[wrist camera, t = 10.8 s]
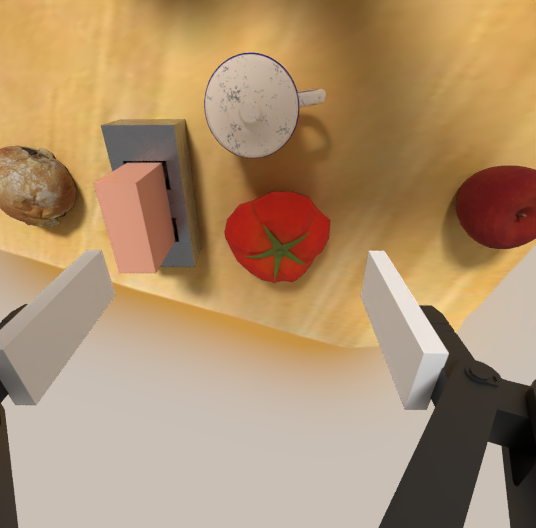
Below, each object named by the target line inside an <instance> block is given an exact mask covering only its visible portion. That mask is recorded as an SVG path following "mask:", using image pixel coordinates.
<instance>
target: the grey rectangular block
mask: <svg viewBox="0 0 536 528" xmlns="http://www.w3.org/2000/svg"><path fill="white" fill-rule="evenodd" d="M101 128H102V132H103V136H104V140H105V144H106V148H107V152H108V156H109V160H110V163H111V167H112V171H114V170H116V169H118V168H119V167H121V166H123V165H124V164H126V163H141V161H166V164H167V170H168V176H169V178H166V179H165V184H166V190H167V196H168V201H169V207H170V213H171V218H176V224H177V228H176V229H175V231H174V236H175V242H174V244H173V245H172V247H171V249H170V250H169V252H168V254H167V255H166V257H165V259H164V260H163V262H162V264H161V265H160V267H195V264H196V262H197V259H198V257H199V255H200V252H201V250H202V249H201V241H200V233H199V226H198V218H197V210H196V202H195V194H194V186H193V179H192V171H191V163H190V155H189V147H188V139H187V132H186V124H185V119H172V120H117V121H114V122H110V123H107V124H103V125H101Z"/></svg>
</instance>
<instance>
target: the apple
mask: <svg viewBox="0 0 536 528" xmlns="http://www.w3.org/2000/svg"><path fill="white" fill-rule="evenodd" d="M456 212H457V216H458V219H459V221H460V224H461V226H462V227H463V228H464V230H465V231H466V232H467V234H468V235H469V236H470V237H472V238H473V239H474V240H475V241H477V242H478V243H480V244H482V245H484V246H487V247H489V248H495V249H510V248H515V247H519V246H521V245H524V244H527V243H529V242H531V241H533V240H534V239H536V170H535V169H531V168H527V167H521V166H497V167H491V168H488V169H485V170H482V171H479V172H477V173H476V174H474V175H472V176H471V177H470V178H468V179H467V180H466V181H465V182H464V184H463V185H462V186H461V188H460V190H459V192H458V195H457V199H456Z"/></svg>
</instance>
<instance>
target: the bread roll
mask: <svg viewBox="0 0 536 528" xmlns="http://www.w3.org/2000/svg"><path fill="white" fill-rule="evenodd" d="M75 197H76V188H75V186H74V183H73V180H72V178H71V177H70V175H69V173H68V171H67V170H66V168H65V167H64V166H63V164H61V163H60V162H59V161H58V160H56V159H54V158H53V154H52V153H51V152H49V151H48V150H46V149H43V148H39V150H37V149H33V148H28V147H21V146H12V147H4V148H2V149H0V208H1V209H2V210H3V211H4V212H5V213H6V214H7V215H9V216H11V217H13V218H15V219H17V220H20V221H23V222H25V223H26V224H27V225H34V226H40V227H42V226H43V225H44V224H46V225H47V226H54V225H58V224H59V223H60V222H61V221H59V220H57V218H56V217H58V216H65V214H66V212H68V211H69V210H70V209H71V208H72V206H73V204H74V203H75Z"/></svg>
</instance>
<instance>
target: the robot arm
mask: <svg viewBox="0 0 536 528" xmlns="http://www.w3.org/2000/svg"><path fill="white" fill-rule="evenodd" d="M114 297H115V292H114V288H113V285H112V282H111V279H110V275H109V272H108V269H107V266H106V262H105V259H104V256H103V253H102V250H86V251H85V252H84V253H82V254H81V255H80V256H79V257H78V258H77V259H76V260H75V261H74V262H73V263H72V264H71V265H70V266H68V267H67V268H66V269H65V270H64V271H63V272H62V273H61V274H60V275H59V276H58V277H57V278H56V279H54V280H53V281H52V282H51V283H50V284H49V285H48V286H47V287H46V288H45V289H44V290H43V291H42V292H40V293H39V294H38V295H37V296H36V297H35V298H34V299H33V300H32V301H31V302H30V303H29V304H25V305H23V306H21V307H19V308H18V309H16V310H14V311H12V312H11V313H10V314H9V315H8V316H7V317H5V318H4V319H3V320H2V322H1V323H0V528H18V521H17V513H16V504H15V495H14V486H13V478H12V470H11V460H10V452H9V443H8V434H7V425H6V417H5V409H4V408H3V406H2V404H1V402H2V401H3V400H4V398H5V397H6V396H7V395H9V396H10V398H11V399H12V401H13V402H14V404H15V405H37V403H38V402H39V401H40V399H41V398H42V396H43V395H44V394H45V392H46V391H47V389H48V388H49V387H50V385H51V384H52V382H53V381H54V380H55V378H56V377H57V376H58V374H59V373H60V371H61V370H62V369H63V367H64V366H65V365H66V363H67V362H68V360H69V359H70V358H71V356H72V355H73V354H74V352H75V351H76V349H77V348H78V347H79V345H80V344H81V342H82V341H83V340H84V338H85V337H86V336H87V334H88V333H89V331H90V330H91V329H92V327H93V325H94V324H95V323H96V321H97V320H98V319H99V317H100V316H101V315H102V313H103V312H104V311H105V309H106V308H107V306H108V305H109V304H110V302H111V301H112V300H113V298H114ZM361 299H362V301H363V304H364V306H365V309H366V312H367V314H368V317H369V319H370V322H371V324H372V327H373V330H374V332H375V335H376V337H377V340H378V342H379V345H380V347H381V350H382V353H383V355H384V357H385V360H386V363H387V365H388V368H389V371H390V373H391V375H392V378H393V381H394V383H395V386H396V388H397V391H398V394H399V396H400V399H401V401H402V404H403V407H404V409H405V410H427V408H428V405H429V403H430V400H431V399H432V402H433V404H434V406H435V409H434V411H433V414H432V415H431V418H430V420H429V422H428V424H427V426H426V428H425V430H424V433H423V435H422V437H421V439H420V441H419V443H418V445H417V448H416V450H415V451H414V454H413V456H412V458H411V460H410V462H409V464H408V466H407V468H406V471H405V473H404V475H403V477H402V479H401V481H400V483H399V485H398V487H397V490H396V492H395V494H394V496H393V498H392V500H391V502H390V505H389V507H388V509H387V511H386V513H385V515H384V517H383V519H382V522H381V524H380V526H379V528H463V526H464V523H465V519H466V516H467V512H468V509H469V505H470V501H471V498H472V494H473V491H474V488H475V484H476V481H477V477H478V474H479V470H480V466H481V463H482V460H483V456H484V452H485V449H486V446H487V442H491V443H494V444H498V445H501V446H502V455H503V463H504V473H505V482H506V491H507V500H508V509H509V519H510V528H536V380H535V381H533V383H532V385H531V386H527V385H523V384H519V383H515V382H511V381H507V380H504V379H502V378H501V377H500V375H499V374H498V373H497V372H496V371H495V370H494V369H493V368H491V367H489V366H488V365H486V364H484V363H482V362H479V361H476V360H475V359H474V358H473V356H472V355H471V354H470V352H469V351H468V349H467V348H466V347H465V345H464V344H463V342H462V341H461V339H460V338H459V337H458V335H457V334H456V333H455V332H454V329H453V328H452V327H451V325H449V322H448V321H447V320H446V318H445V317H444V315H443V314H442V313H441V312H439V311H438V310H437V309H435V308H434V307H433V306H422V305H418V303H417V302H416V300H415V299H414V297H413V295H412V294H411V292H410V291H409V289H408V287H407V286H406V284H405V283H404V281H403V279H402V278H401V276H400V275H399V273H398V271H397V270H396V268H395V267H394V265H393V264H392V262H391V260H390V259H389V257H388V256H387V254H386V252H385V251H369V252H368V258H367V263H366V269H365V275H364V280H363V286H362V292H361Z"/></svg>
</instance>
